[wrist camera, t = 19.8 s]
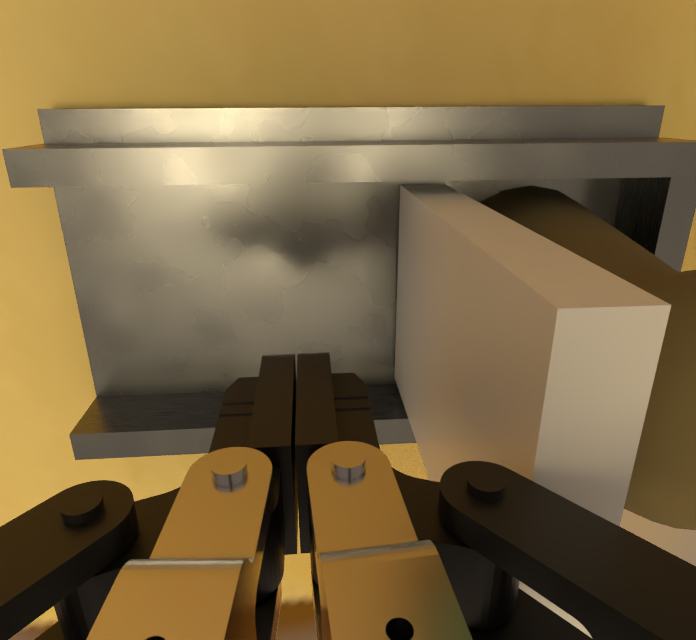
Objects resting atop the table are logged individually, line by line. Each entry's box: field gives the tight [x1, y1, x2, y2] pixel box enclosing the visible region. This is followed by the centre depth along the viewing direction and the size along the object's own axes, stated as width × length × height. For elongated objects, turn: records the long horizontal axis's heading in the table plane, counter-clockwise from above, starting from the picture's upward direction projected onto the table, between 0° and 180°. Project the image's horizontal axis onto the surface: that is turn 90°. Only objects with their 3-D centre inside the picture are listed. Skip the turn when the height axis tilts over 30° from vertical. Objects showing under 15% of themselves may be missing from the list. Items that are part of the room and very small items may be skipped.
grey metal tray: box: [2, 106, 696, 460], centre depth 18 cm, size 12×20×4 cm, turn 90°
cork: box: [479, 185, 696, 530], centre depth 14 cm, size 6×6×11 cm
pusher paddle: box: [394, 184, 671, 639], centre depth 14 cm, size 7×2×12 cm, turn 0°
